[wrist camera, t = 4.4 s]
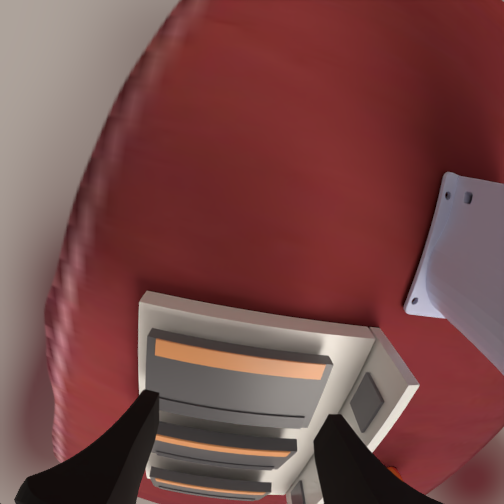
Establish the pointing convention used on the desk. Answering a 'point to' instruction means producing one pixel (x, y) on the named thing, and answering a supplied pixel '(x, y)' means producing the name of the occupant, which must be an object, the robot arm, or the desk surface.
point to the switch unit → (292, 340)
